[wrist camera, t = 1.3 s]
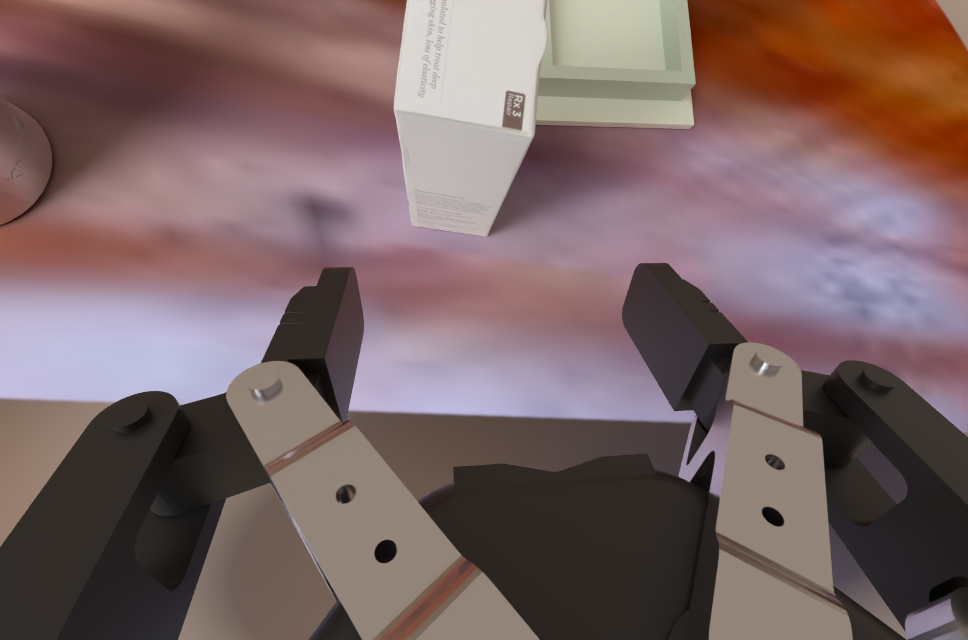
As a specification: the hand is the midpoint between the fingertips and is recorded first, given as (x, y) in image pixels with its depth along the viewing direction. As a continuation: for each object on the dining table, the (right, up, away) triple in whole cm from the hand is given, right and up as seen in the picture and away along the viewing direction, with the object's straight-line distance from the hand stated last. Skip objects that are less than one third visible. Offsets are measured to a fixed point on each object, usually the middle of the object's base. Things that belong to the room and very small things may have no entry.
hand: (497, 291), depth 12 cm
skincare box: (-2, +9, +19) cm, 21 cm away
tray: (+9, +24, +22) cm, 33 cm away
